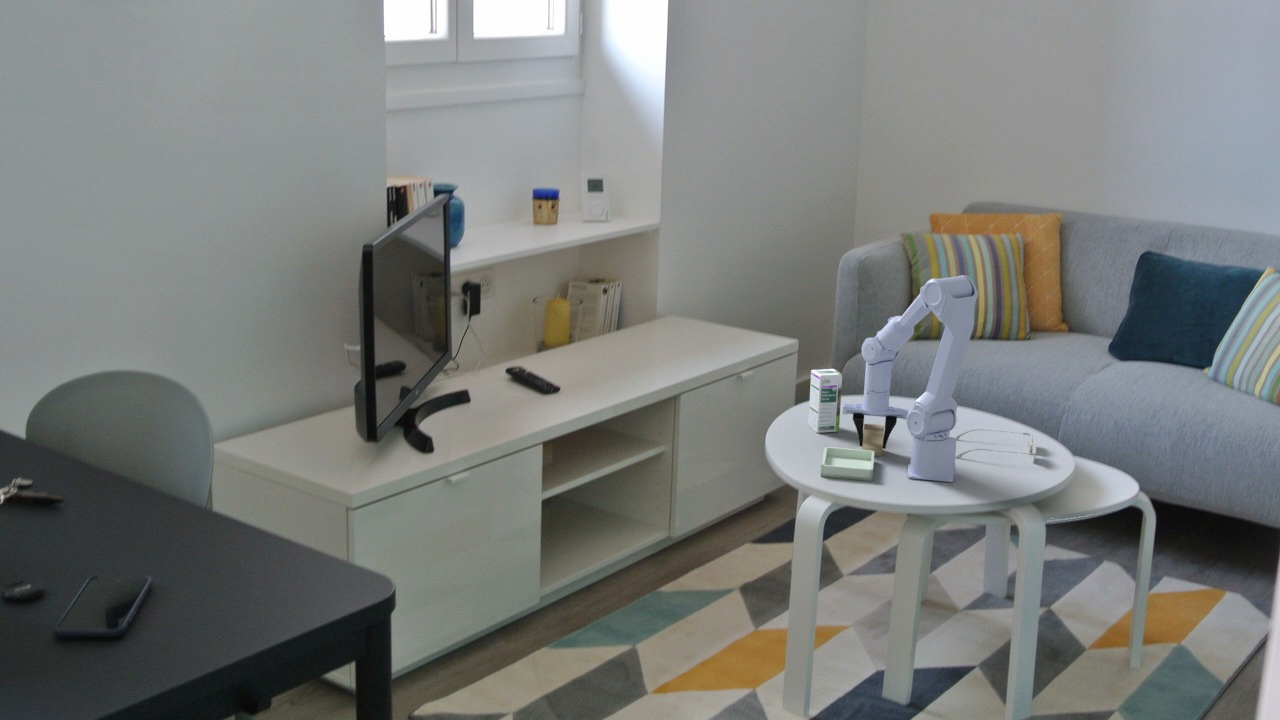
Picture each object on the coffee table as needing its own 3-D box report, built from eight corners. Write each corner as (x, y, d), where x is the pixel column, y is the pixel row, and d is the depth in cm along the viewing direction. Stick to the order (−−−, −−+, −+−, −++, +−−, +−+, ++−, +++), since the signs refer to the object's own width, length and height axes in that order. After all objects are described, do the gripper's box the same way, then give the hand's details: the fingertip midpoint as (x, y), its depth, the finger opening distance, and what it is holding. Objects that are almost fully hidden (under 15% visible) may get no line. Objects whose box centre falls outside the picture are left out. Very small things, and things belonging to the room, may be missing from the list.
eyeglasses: (1035, 468, 283) (1037, 451, 282) (952, 461, 286) (954, 444, 285) (1029, 446, 297) (1031, 430, 296) (950, 440, 301) (952, 424, 300)
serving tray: (873, 461, 283) (874, 450, 282) (872, 481, 270) (873, 470, 270) (824, 457, 285) (824, 446, 284) (820, 476, 273) (821, 465, 272)
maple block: (882, 449, 291) (884, 425, 289) (881, 456, 287) (883, 431, 285) (862, 448, 292) (864, 423, 290) (861, 454, 287) (863, 429, 286)
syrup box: (817, 433, 301) (820, 375, 297) (807, 426, 307) (811, 368, 303) (839, 432, 303) (843, 373, 299) (829, 424, 308) (833, 367, 304)
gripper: (909, 386, 288) (904, 443, 291) (845, 381, 290) (841, 437, 294) (909, 395, 281) (904, 453, 284) (844, 390, 284) (839, 447, 287)
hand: (872, 446), depth 289 cm, fingers closed on maple block, 4 cm apart
